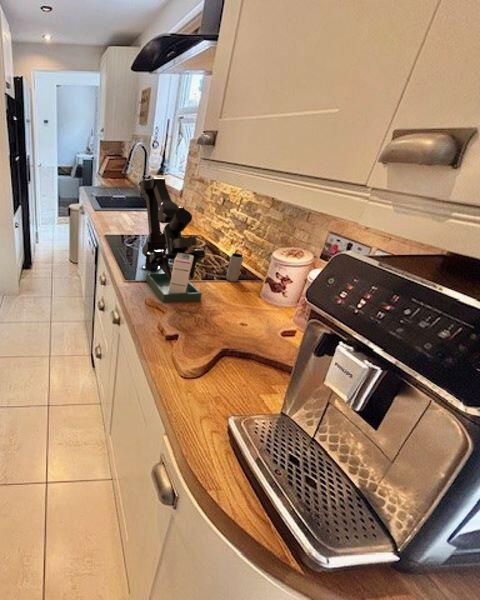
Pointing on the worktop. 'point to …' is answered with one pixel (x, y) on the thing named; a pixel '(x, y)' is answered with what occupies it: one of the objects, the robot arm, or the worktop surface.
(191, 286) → the tray
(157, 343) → the worktop surface
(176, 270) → the syrup box
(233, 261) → the grey upright cylinder
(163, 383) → the worktop surface
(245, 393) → the worktop surface
